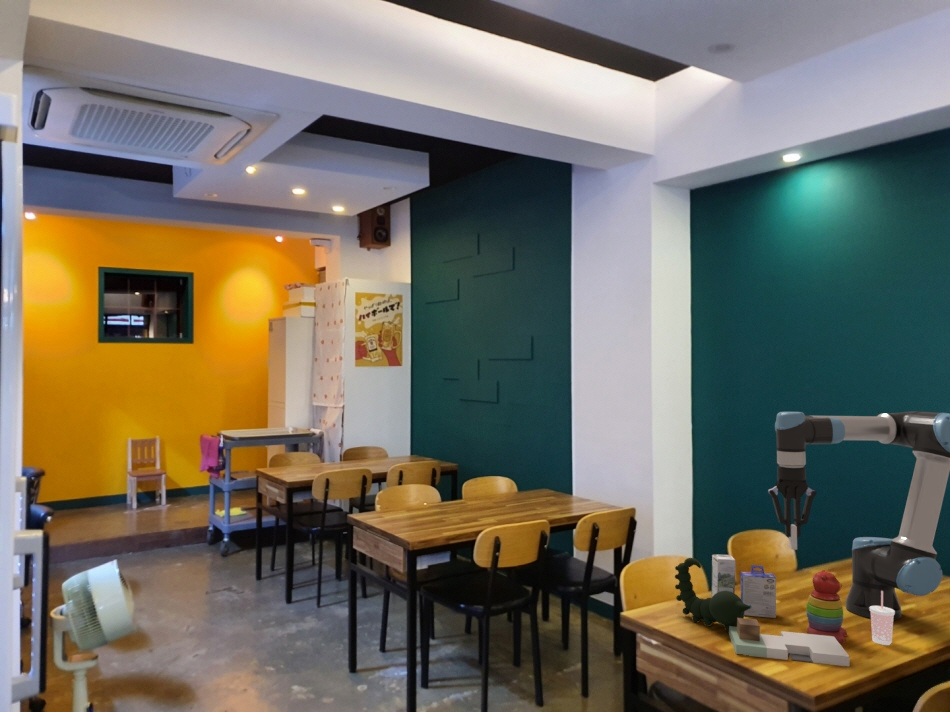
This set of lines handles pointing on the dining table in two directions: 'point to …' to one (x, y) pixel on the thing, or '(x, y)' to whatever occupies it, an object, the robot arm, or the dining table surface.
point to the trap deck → (792, 647)
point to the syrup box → (723, 573)
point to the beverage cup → (882, 623)
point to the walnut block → (748, 629)
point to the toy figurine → (708, 601)
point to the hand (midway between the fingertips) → (793, 548)
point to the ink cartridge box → (759, 592)
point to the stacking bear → (825, 607)
